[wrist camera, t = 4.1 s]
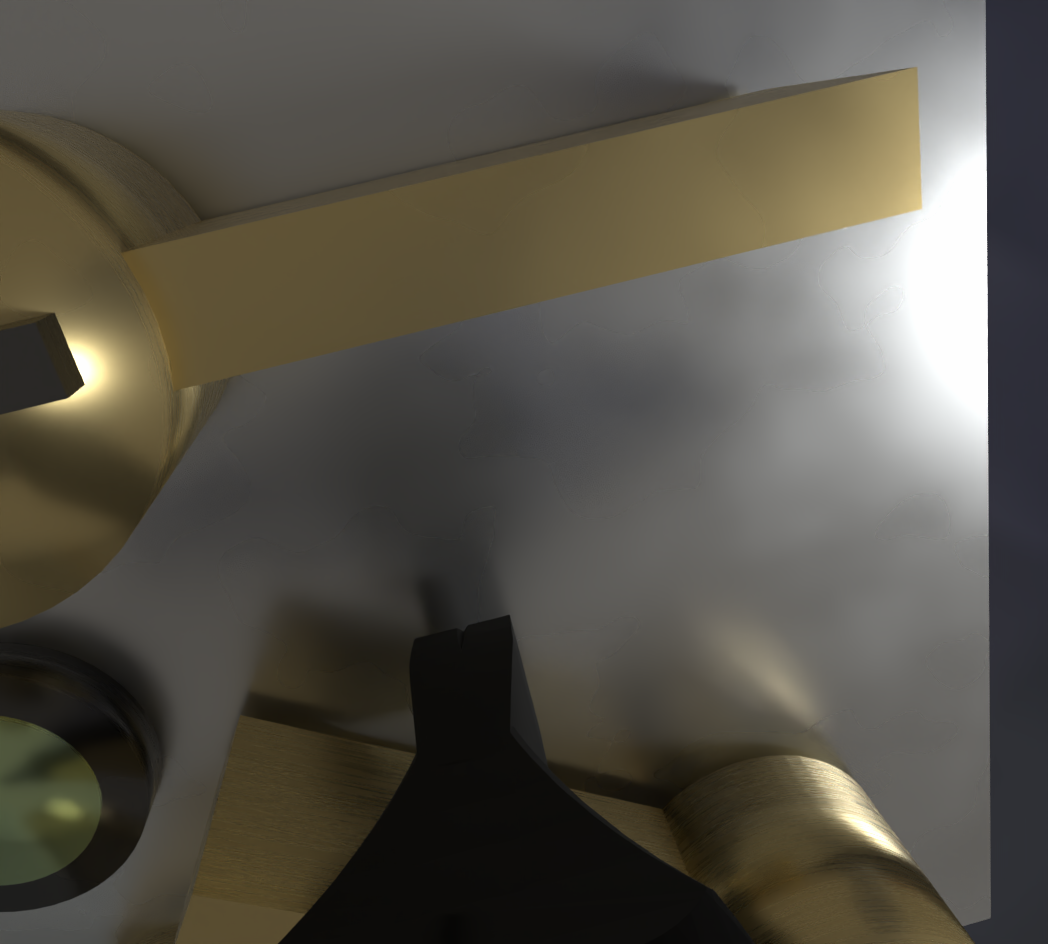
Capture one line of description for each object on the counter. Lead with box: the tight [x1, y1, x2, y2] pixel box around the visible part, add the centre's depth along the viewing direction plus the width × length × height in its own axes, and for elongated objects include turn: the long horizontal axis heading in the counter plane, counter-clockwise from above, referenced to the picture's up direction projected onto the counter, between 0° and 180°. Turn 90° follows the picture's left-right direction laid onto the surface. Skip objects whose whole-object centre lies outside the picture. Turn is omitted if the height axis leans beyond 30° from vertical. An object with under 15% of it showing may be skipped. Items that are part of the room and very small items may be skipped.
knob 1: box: [0, 67, 922, 628], centre depth 8 cm, size 11×4×4 cm, turn 102°
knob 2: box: [174, 715, 975, 944], centre depth 12 cm, size 11×4×4 cm, turn 68°
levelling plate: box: [0, 0, 991, 944], centre depth 11 cm, size 17×20×6 cm
